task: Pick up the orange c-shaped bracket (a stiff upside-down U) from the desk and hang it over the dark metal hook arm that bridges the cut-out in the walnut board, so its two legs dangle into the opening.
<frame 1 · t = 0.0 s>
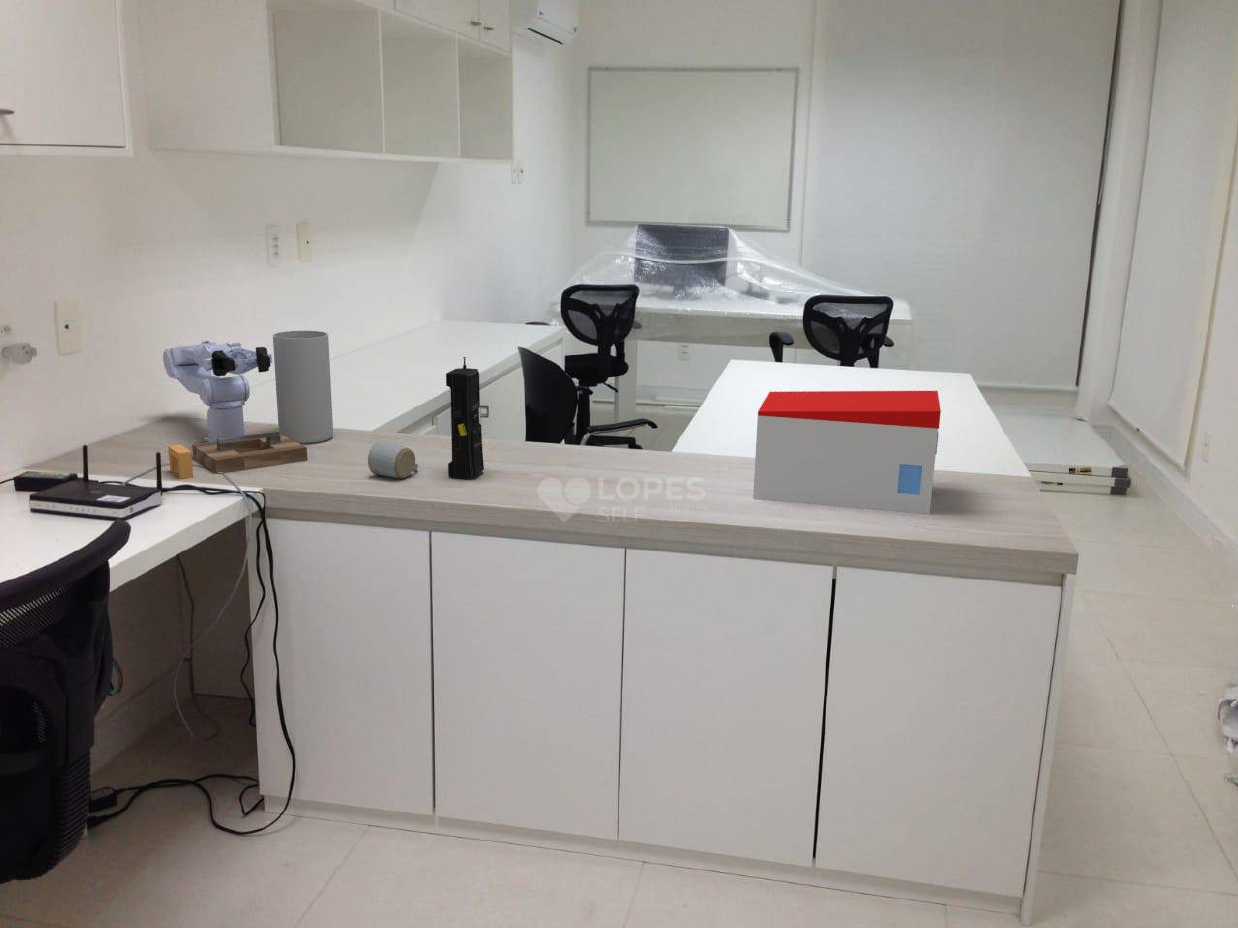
hand: (251, 363, 237), 22 cm above the countertop, fingers open, 7 cm apart
portable radio: (465, 476, 235), on the countertop
orange c-shaped bracket: (181, 474, 231), on the countertop
ceramic mug: (395, 475, 234), on the countertop
hook board: (250, 459, 244), on the countertop
cylinder vase: (306, 439, 263), on the countertop
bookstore: (843, 493, 228), on the countertop
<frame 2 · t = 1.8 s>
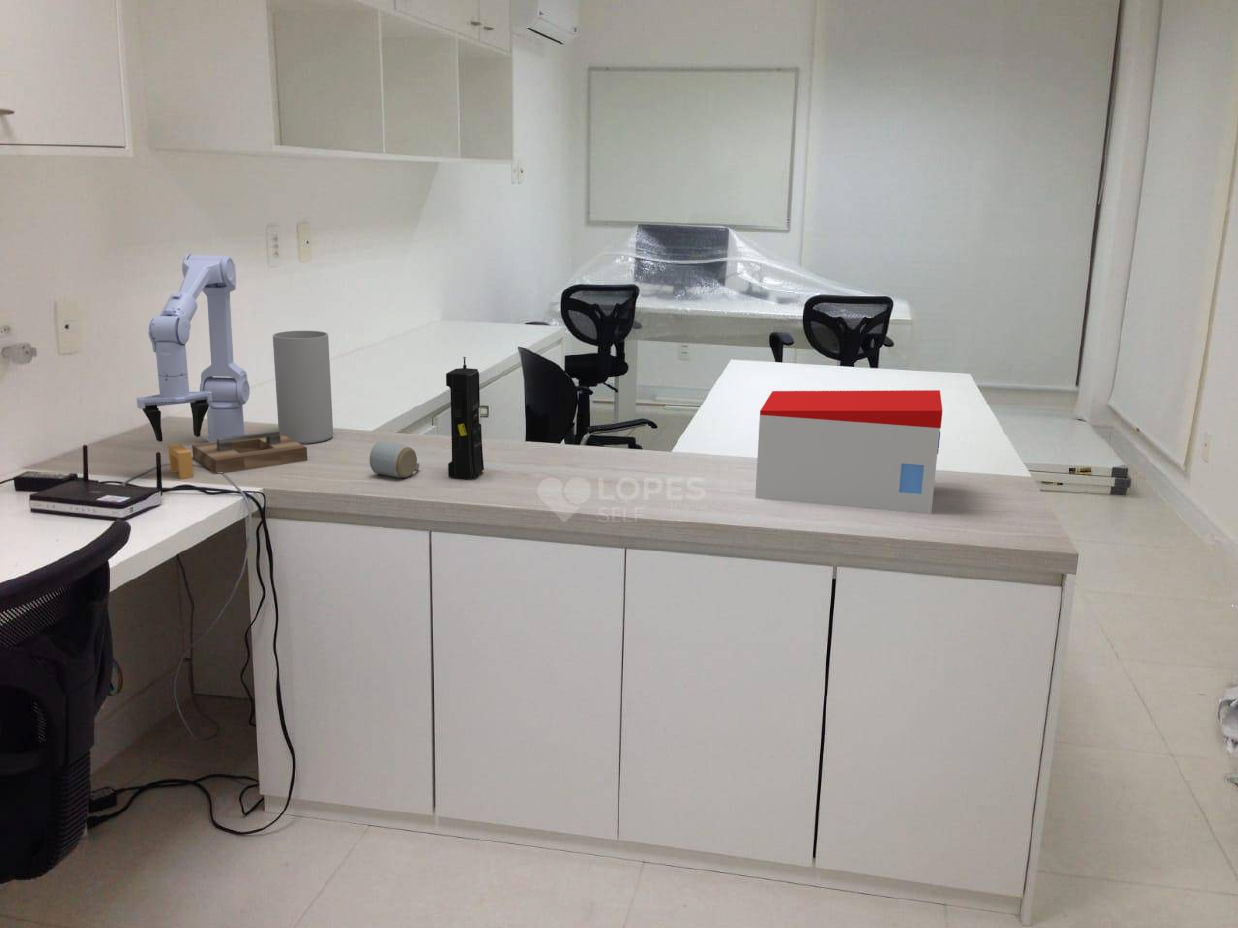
hand: (178, 438, 229), 8 cm above the countertop, fingers open, 7 cm apart
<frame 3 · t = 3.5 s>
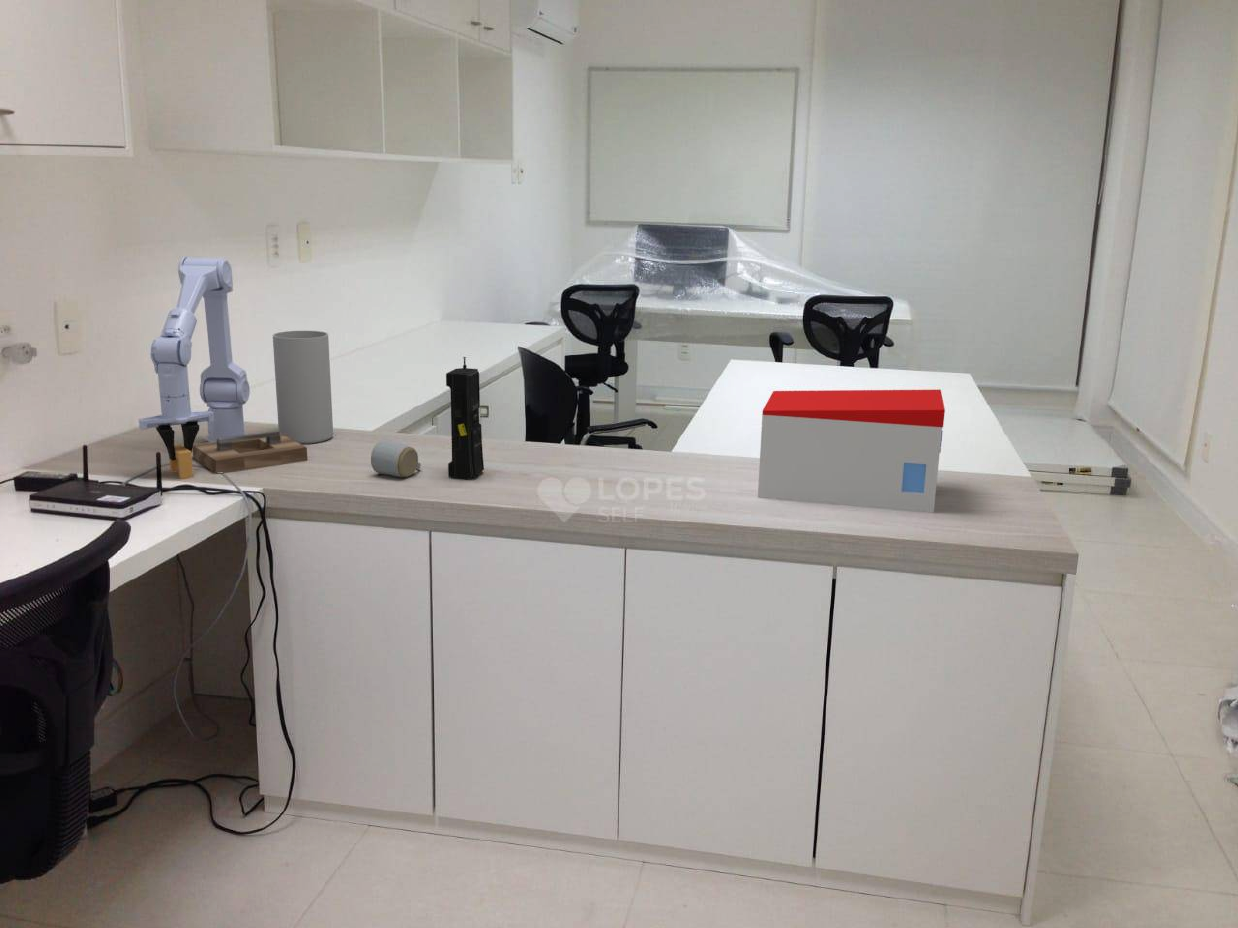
hand: (180, 458, 231), 3 cm above the countertop, fingers closed on orange c-shaped bracket, 2 cm apart
orange c-shaped bracket: (181, 474, 231), on the countertop, touching gripper
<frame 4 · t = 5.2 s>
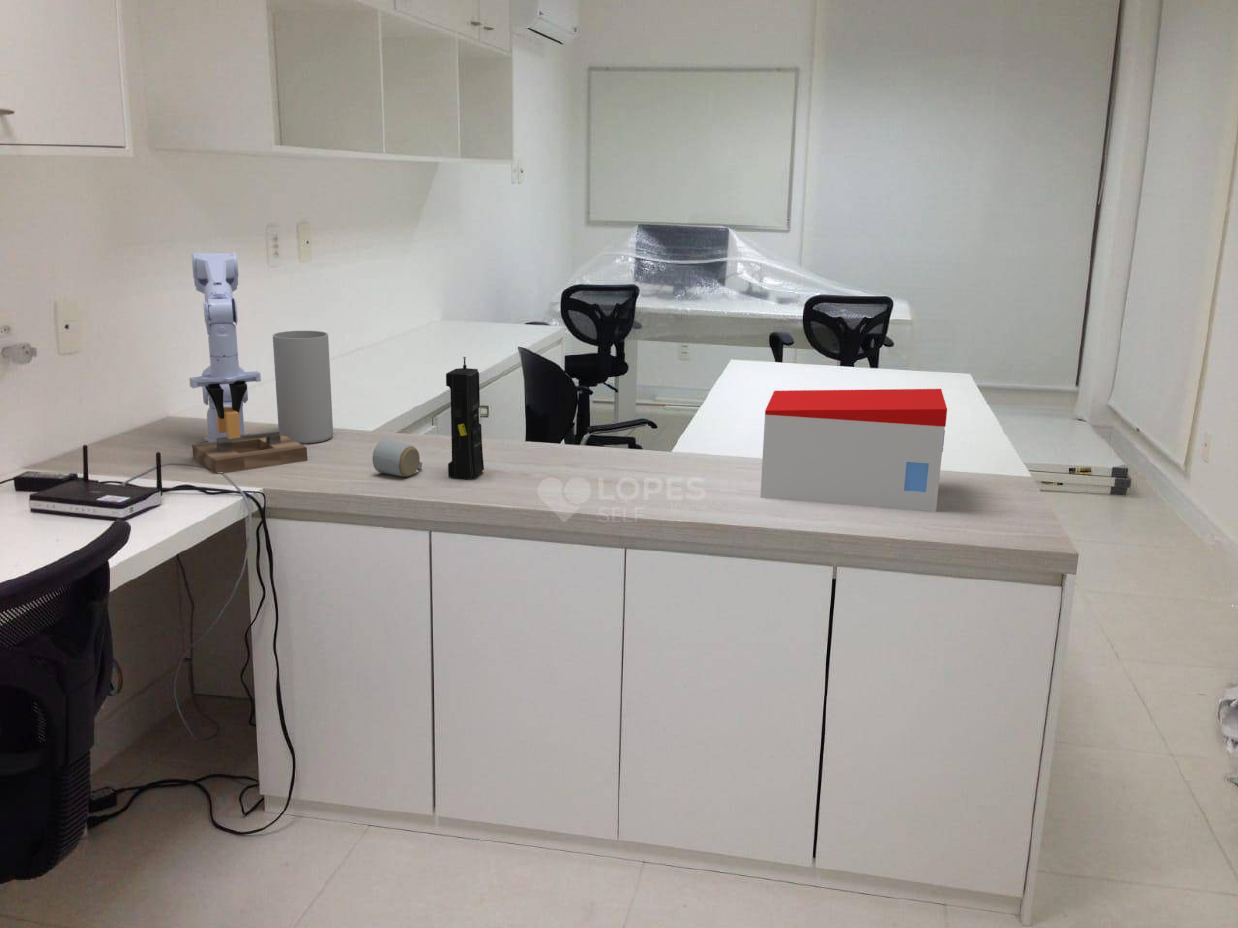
hand: (228, 417, 238), 10 cm above the countertop, fingers closed on orange c-shaped bracket, 2 cm apart
orange c-shaped bracket: (229, 434, 239), point 6 cm above the countertop, touching gripper
when the fingers open (6 cm above the countertop, at t = 7.0 s): orange c-shaped bracket stays where it is, resting on hook board.
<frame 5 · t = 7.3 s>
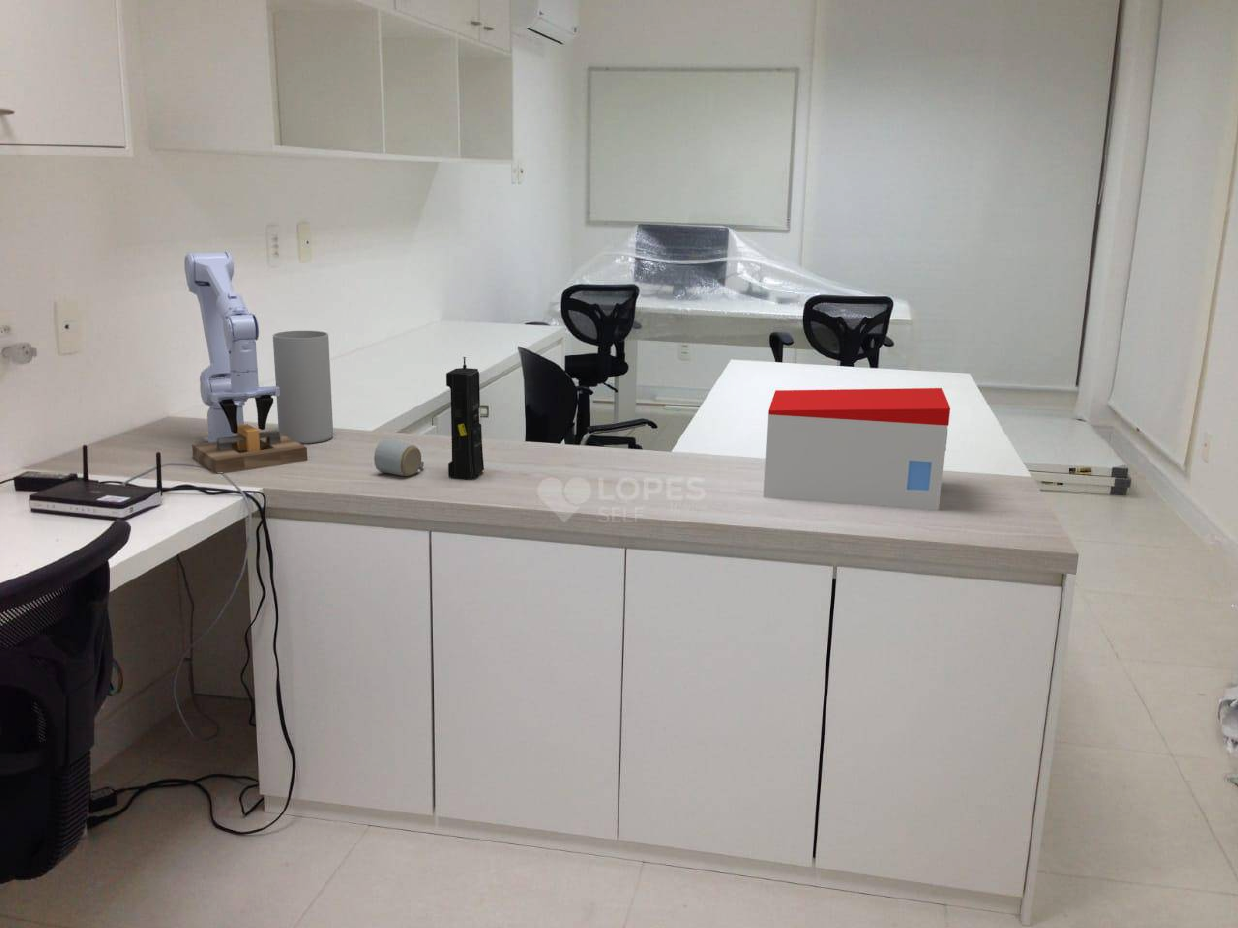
hand: (248, 431, 242), 6 cm above the countertop, fingers open, 5 cm apart
orange c-shaped bracket: (249, 451, 244), point 1 cm above the countertop, touching hook board
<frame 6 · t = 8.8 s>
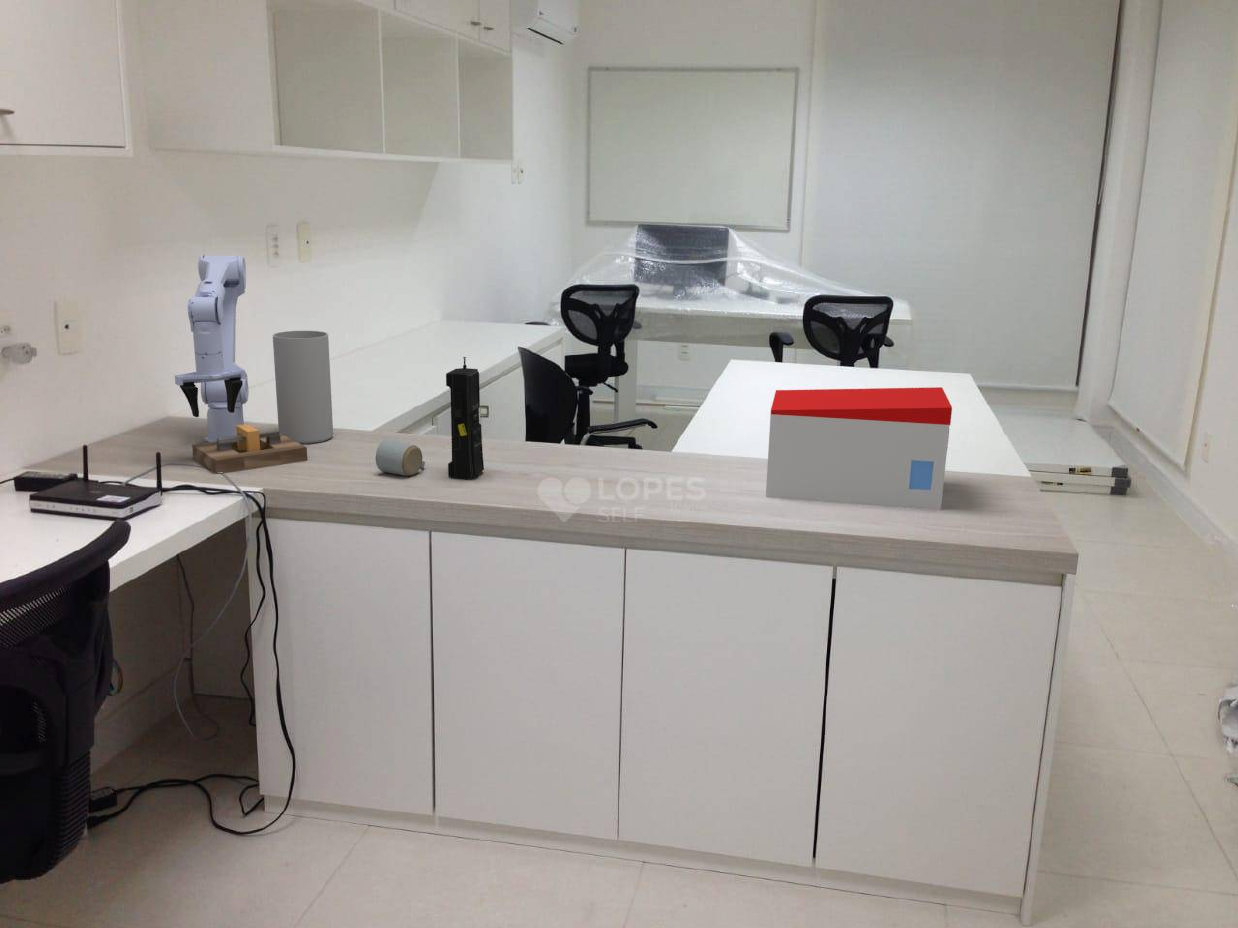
hand: (213, 414, 240), 10 cm above the countertop, fingers open, 7 cm apart
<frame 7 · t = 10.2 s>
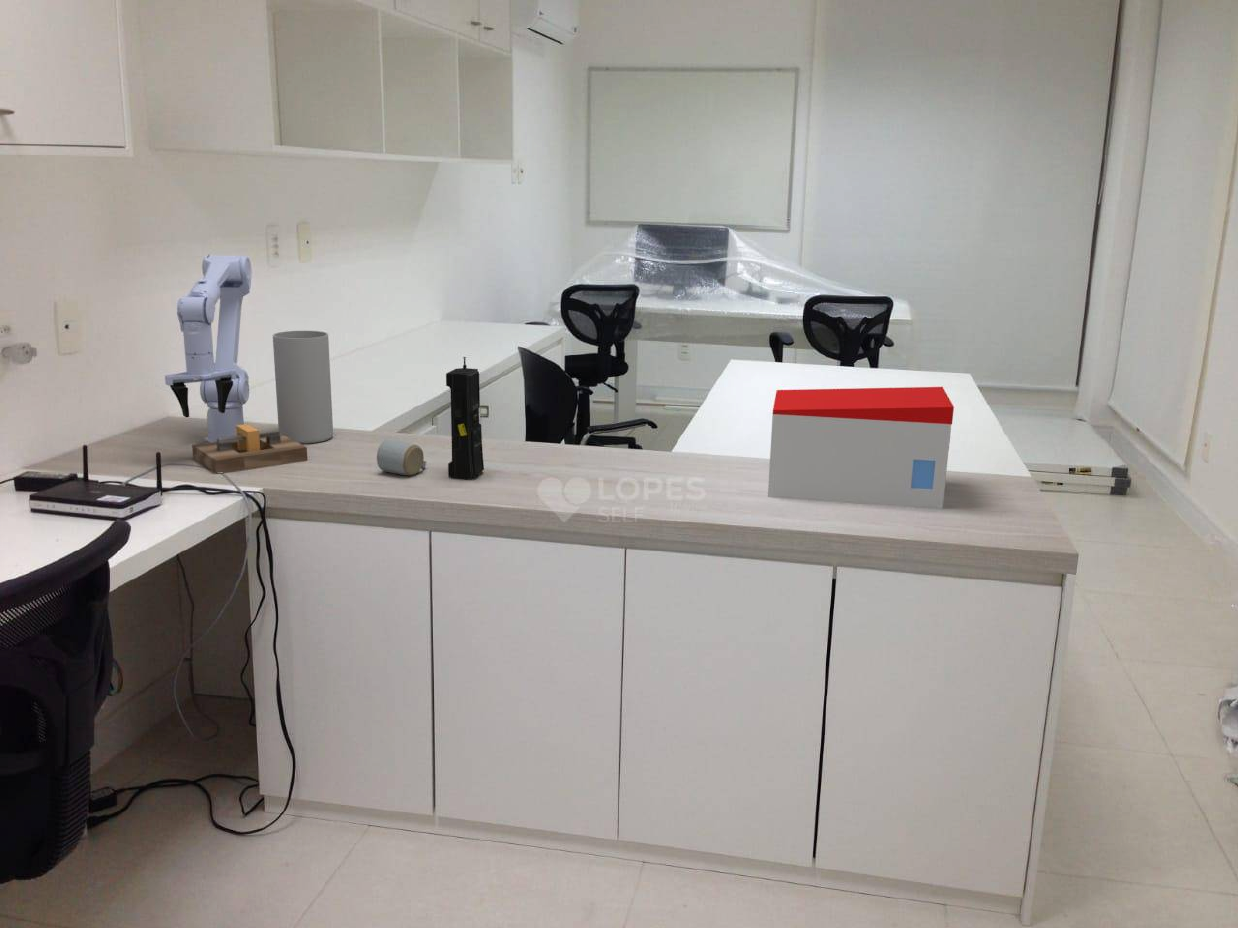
hand: (204, 414, 240), 10 cm above the countertop, fingers open, 7 cm apart
at the end: orange c-shaped bracket 0.5 cm off-centre on the hook board, point 1.5 cm above the hook board's base; orange c-shaped bracket touching hook board; orange c-shaped bracket tilted 0° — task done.
